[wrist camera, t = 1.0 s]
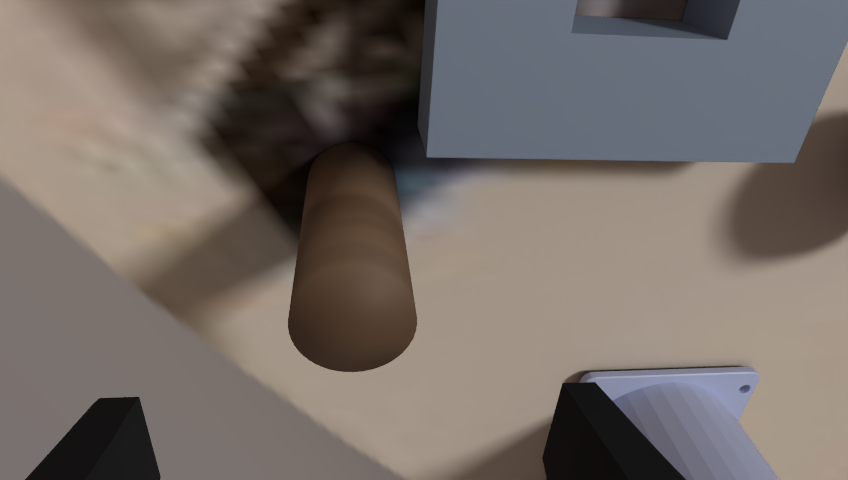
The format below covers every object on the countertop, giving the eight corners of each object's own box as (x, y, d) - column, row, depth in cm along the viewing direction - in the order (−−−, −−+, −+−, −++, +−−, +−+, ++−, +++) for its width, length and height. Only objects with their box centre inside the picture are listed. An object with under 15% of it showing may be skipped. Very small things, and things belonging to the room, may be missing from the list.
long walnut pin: (393, 221, 19) (413, 369, 14) (309, 220, 19) (291, 374, 13) (397, 142, 18) (420, 272, 12) (305, 141, 18) (284, 273, 12)
